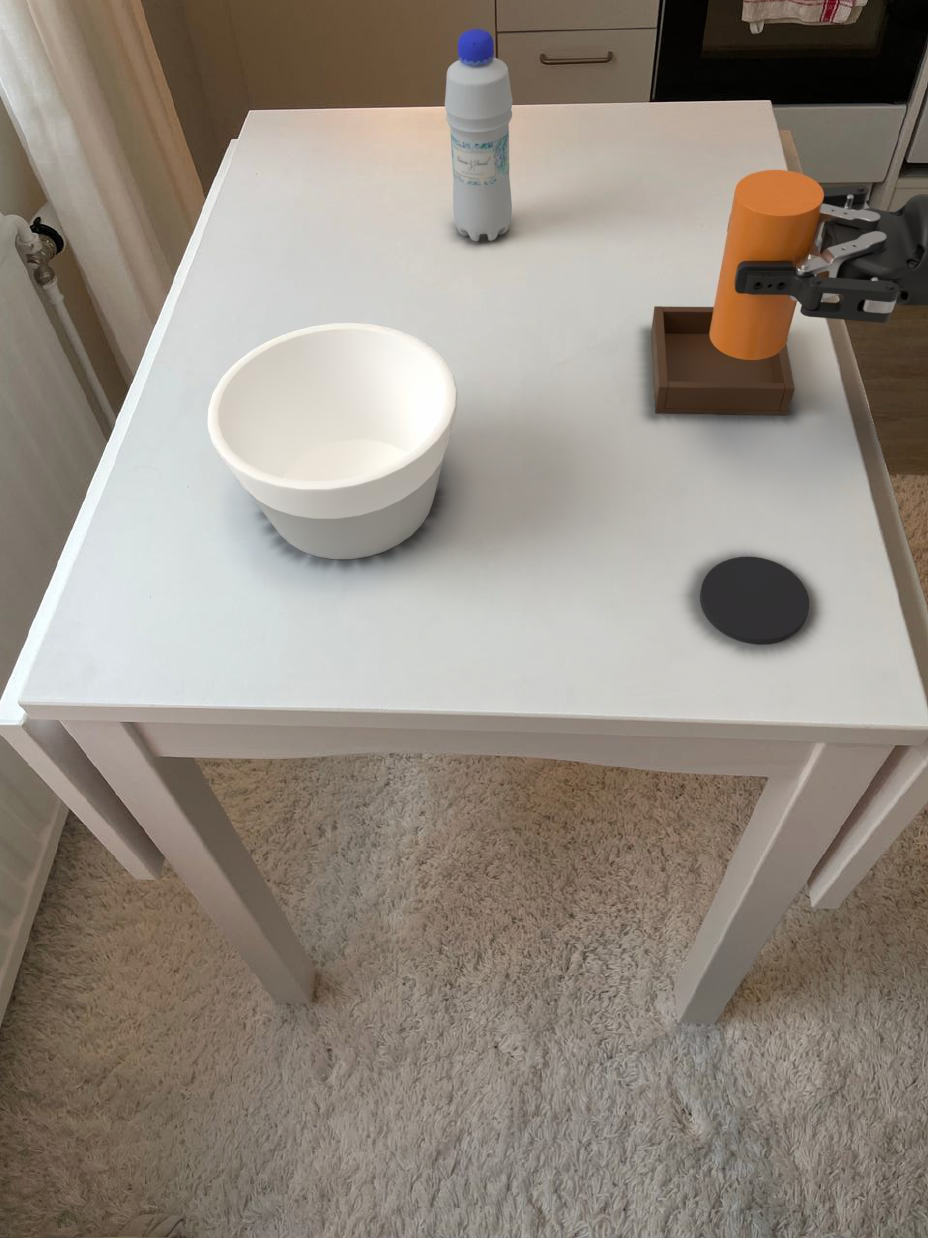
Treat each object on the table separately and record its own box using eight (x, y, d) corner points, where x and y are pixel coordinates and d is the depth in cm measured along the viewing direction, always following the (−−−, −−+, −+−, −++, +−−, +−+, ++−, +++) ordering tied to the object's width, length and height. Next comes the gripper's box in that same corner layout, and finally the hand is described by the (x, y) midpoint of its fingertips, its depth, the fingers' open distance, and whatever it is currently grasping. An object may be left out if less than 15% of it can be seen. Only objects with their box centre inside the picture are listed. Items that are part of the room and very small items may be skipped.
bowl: (298, 403, 89) (274, 304, 80) (494, 444, 84) (490, 343, 76) (198, 553, 78) (159, 458, 70) (416, 609, 74) (402, 514, 65)
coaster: (817, 579, 74) (819, 574, 73) (793, 658, 70) (795, 653, 69) (716, 549, 76) (717, 544, 76) (686, 624, 72) (687, 619, 71)
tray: (773, 333, 92) (779, 306, 89) (787, 415, 85) (794, 388, 82) (650, 332, 93) (654, 305, 90) (655, 412, 86) (659, 386, 83)
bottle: (443, 241, 104) (428, 42, 88) (466, 208, 107) (456, 12, 91) (501, 252, 102) (497, 51, 86) (522, 218, 106) (522, 20, 89)
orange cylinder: (794, 322, 76) (832, 177, 67) (776, 367, 73) (813, 222, 64) (720, 306, 78) (747, 163, 69) (699, 350, 75) (724, 205, 65)
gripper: (967, 147, 70) (732, 150, 71) (1019, 261, 61) (751, 261, 63) (932, 241, 76) (716, 242, 77) (975, 357, 67) (731, 355, 69)
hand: (733, 250), depth 70 cm, fingers closed on orange cylinder, 6 cm apart
